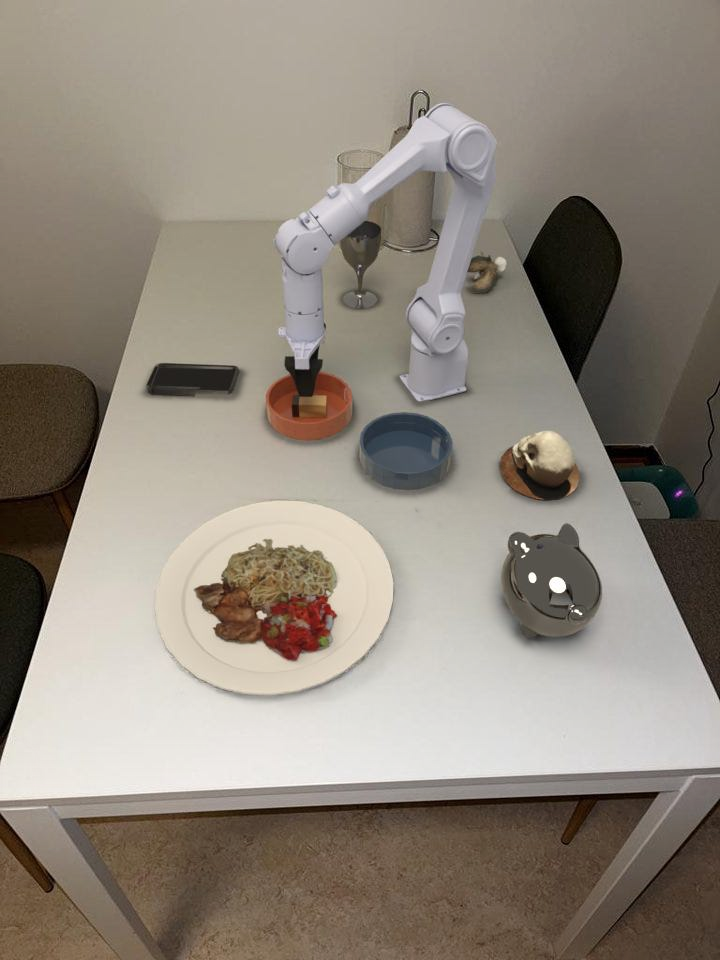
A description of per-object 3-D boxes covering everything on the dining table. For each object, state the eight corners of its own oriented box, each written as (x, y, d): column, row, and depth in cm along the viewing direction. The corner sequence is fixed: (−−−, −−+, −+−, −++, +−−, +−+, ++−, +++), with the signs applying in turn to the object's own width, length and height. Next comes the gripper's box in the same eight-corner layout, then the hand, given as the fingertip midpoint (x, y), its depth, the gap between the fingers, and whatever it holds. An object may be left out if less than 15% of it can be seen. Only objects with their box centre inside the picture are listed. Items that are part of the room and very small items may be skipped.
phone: (156, 362, 123) (239, 365, 123) (157, 367, 124) (240, 370, 123) (144, 389, 118) (231, 392, 117) (145, 394, 118) (232, 397, 118)
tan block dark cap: (327, 407, 115) (326, 395, 114) (326, 417, 113) (325, 405, 112) (293, 407, 115) (292, 394, 114) (292, 417, 113) (291, 404, 112)
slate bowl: (425, 423, 114) (427, 404, 111) (465, 478, 104) (469, 458, 101) (346, 444, 110) (346, 424, 107) (381, 502, 100) (382, 483, 98)
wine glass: (386, 296, 143) (389, 226, 132) (366, 313, 138) (367, 242, 128) (354, 286, 146) (354, 217, 135) (333, 302, 141) (331, 231, 131)
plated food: (254, 482, 103) (251, 465, 101) (433, 563, 92) (435, 547, 90) (106, 627, 85) (99, 611, 82) (308, 750, 74) (306, 736, 72)
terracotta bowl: (334, 382, 121) (334, 363, 119) (364, 430, 112) (365, 411, 109) (257, 400, 118) (255, 381, 115) (282, 451, 108) (280, 432, 105)
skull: (479, 453, 107) (526, 403, 103) (516, 474, 113) (560, 428, 110) (520, 503, 98) (572, 451, 95) (557, 522, 105) (606, 474, 102)
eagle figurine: (468, 264, 151) (453, 274, 144) (490, 240, 146) (476, 249, 140) (492, 290, 151) (477, 301, 144) (515, 267, 146) (501, 277, 140)
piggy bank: (555, 559, 93) (575, 500, 85) (608, 654, 83) (635, 597, 75) (477, 573, 91) (489, 514, 83) (520, 672, 81) (539, 616, 73)
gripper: (281, 280, 106) (287, 354, 115) (271, 331, 95) (278, 408, 105) (327, 280, 106) (329, 355, 115) (322, 332, 95) (324, 409, 105)
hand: (307, 380), depth 110 cm, fingers open, 7 cm apart
